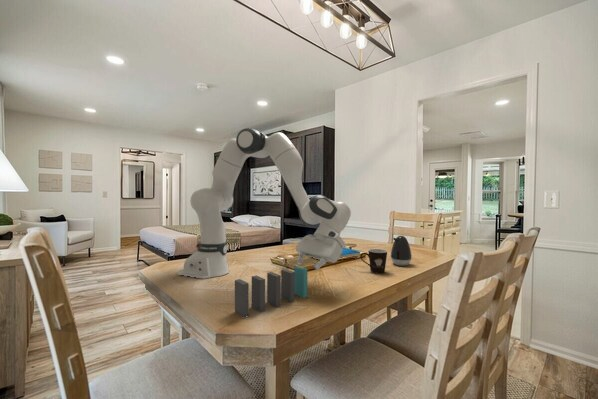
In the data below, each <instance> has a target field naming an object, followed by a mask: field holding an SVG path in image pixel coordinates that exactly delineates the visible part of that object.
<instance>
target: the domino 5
mask: <svg viewBox="0 0 598 399" xmlns="http://www.w3.org/2000/svg"><path fill="white" fill-rule="evenodd" d="M293 272H295V289H294V295H295V296H298V297H300V298H302V299H304V298H308V268H306V267H303V266H301V265H300V266H299V265H297V266H294V268H293Z"/></svg>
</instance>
